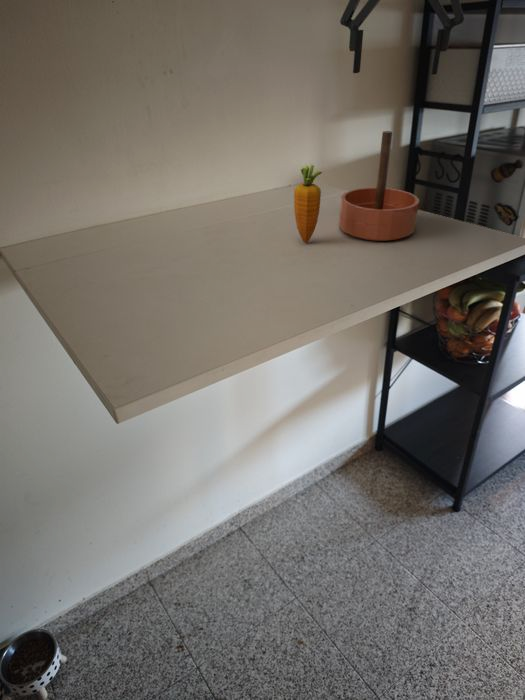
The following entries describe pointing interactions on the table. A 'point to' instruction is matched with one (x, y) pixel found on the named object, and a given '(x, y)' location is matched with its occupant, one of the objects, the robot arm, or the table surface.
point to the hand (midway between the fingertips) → (394, 73)
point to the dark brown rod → (383, 169)
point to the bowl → (378, 214)
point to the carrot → (307, 204)
